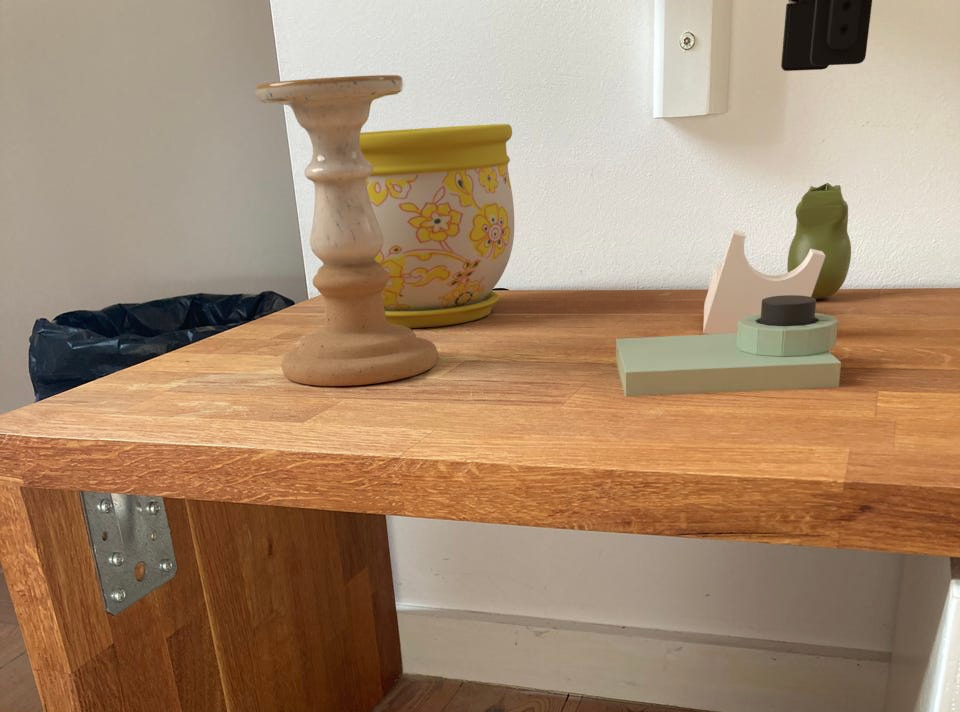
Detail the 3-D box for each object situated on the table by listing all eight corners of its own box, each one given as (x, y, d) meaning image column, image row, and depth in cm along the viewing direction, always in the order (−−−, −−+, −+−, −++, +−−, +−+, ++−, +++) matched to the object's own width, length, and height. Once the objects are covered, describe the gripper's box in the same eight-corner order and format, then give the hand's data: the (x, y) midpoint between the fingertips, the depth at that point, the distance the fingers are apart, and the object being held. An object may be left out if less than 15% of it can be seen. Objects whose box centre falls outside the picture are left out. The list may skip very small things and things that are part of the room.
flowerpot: (469, 337, 90) (456, 129, 82) (299, 331, 97) (273, 139, 90) (547, 302, 104) (542, 121, 97) (394, 298, 111) (378, 130, 104)
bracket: (790, 354, 81) (825, 255, 77) (703, 332, 82) (733, 233, 78) (781, 322, 92) (811, 235, 89) (704, 303, 93) (730, 216, 89)
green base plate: (812, 352, 77) (816, 304, 76) (850, 387, 68) (856, 333, 66) (615, 361, 79) (615, 314, 77) (625, 397, 69) (625, 344, 67)
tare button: (807, 319, 73) (809, 294, 72) (819, 329, 70) (821, 302, 69) (755, 322, 73) (757, 296, 72) (765, 332, 70) (767, 305, 69)
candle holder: (468, 357, 83) (450, 72, 73) (371, 393, 74) (336, 74, 65) (352, 347, 89) (322, 84, 80) (250, 379, 80) (203, 87, 71)
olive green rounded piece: (849, 294, 98) (860, 180, 93) (842, 304, 94) (854, 184, 89) (789, 293, 100) (797, 182, 95) (780, 303, 96) (788, 186, 91)
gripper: (973, -334, 51) (918, 59, 59) (881, -232, 67) (847, 69, 74) (819, -323, 52) (785, 65, 60) (763, -224, 67) (741, 74, 75)
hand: (819, 67), depth 67 cm, fingers open, 9 cm apart
